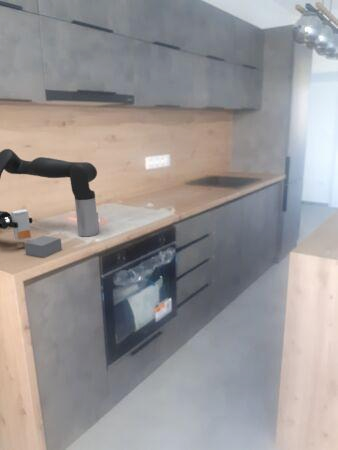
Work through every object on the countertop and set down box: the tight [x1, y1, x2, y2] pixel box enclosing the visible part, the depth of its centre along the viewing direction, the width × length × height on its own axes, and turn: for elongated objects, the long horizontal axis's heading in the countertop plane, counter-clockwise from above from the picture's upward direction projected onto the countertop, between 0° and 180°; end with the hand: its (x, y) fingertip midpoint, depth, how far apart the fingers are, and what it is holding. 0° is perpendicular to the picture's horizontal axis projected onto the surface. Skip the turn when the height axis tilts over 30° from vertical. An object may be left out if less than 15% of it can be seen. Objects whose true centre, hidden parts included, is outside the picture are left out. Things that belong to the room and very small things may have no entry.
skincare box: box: [10, 209, 32, 241], centre depth 154 cm, size 6×4×12 cm
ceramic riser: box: [23, 235, 63, 259], centre depth 150 cm, size 10×10×5 cm
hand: (24, 223), depth 153 cm, fingers closed on skincare box, 7 cm apart
